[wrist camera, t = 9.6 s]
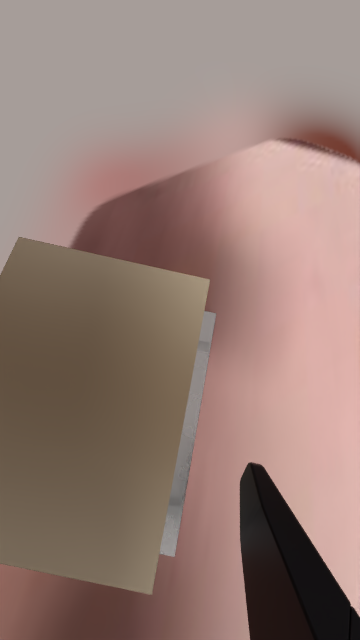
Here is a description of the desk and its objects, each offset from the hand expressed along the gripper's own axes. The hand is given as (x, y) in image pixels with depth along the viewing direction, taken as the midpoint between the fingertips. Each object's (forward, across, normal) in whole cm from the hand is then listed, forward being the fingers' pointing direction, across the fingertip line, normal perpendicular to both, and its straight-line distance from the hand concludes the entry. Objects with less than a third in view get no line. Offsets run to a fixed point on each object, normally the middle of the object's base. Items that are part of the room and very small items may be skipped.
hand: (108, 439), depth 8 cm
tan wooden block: (+6, 0, +5) cm, 8 cm away
